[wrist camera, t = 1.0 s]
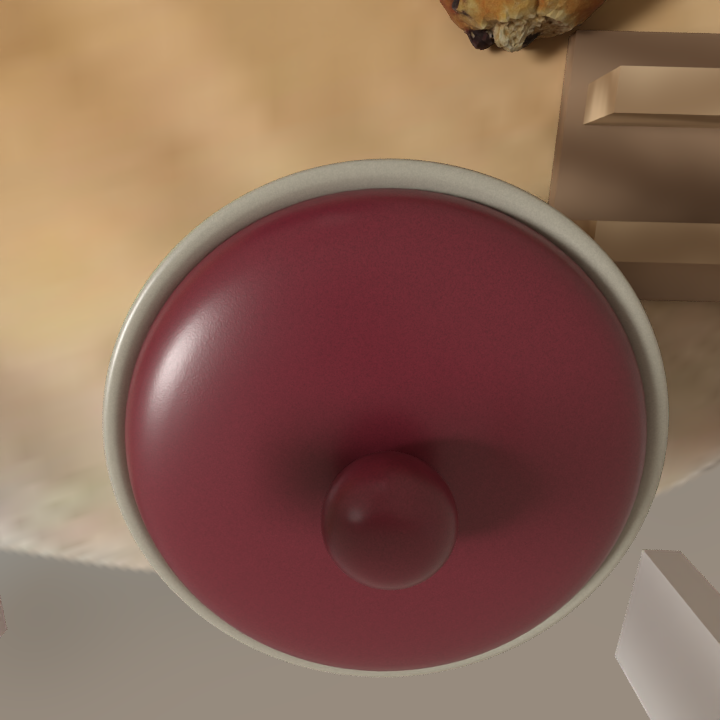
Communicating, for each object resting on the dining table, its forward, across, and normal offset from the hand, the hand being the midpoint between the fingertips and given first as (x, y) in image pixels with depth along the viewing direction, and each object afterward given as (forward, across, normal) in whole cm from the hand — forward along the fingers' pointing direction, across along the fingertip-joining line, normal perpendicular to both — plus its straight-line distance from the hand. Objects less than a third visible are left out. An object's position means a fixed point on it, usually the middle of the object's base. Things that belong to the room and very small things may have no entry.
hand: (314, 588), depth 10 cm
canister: (+23, +2, 0) cm, 23 cm away
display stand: (+22, +18, +10) cm, 31 cm away
